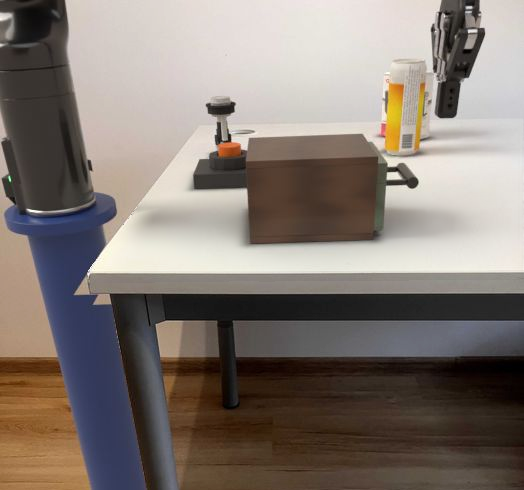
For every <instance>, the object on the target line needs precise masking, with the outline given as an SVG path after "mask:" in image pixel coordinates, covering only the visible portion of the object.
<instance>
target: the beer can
mask: <svg viewBox="0 0 524 490" xmlns="http://www.w3.org/2000/svg"><path fill="white" fill-rule="evenodd" d="M427 71H428V65H427V64H426V59H423V58H397V59H393V60H392V63H391V65H390V67H389V72H390V75H389V90H388V104H387V119H386V134H385V136H384V149H385V151H386V152H387V154H388V155H392V156H399V157H400V156H401V157H406V156H407V157H408V156H413V155H415V154H416V153H417V151H418V150H419V149H420V145H421V144H420V143H421V139H420V135H421V124H422V114H423V104H424V93H425V83H426V73H427Z"/></svg>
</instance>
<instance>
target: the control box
mask: <svg viewBox="0 0 524 490" xmlns="http://www.w3.org/2000/svg"><path fill="white" fill-rule="evenodd" d="M246 156H247V149H242V148H241V155H240V156H234V157H221V156H219V154H218V151H215V150H214V151H212V152H210V153H209V154H208V158H199V159H198V161H197V164H196V166H195V168H194V172H193V173H192V176H193V177H192V178H193V189H194V190H201V189H202V190H203V189H205V190H206V189H229V188H230V189H231V188H232V189H233V188H247V176H246Z"/></svg>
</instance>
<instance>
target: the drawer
mask: <svg viewBox="0 0 524 490" xmlns="http://www.w3.org/2000/svg"><path fill="white" fill-rule="evenodd" d="M368 142H369V144H370V145H371V147H372V148H373V150H374V151H375V153H376V154H377V155H378V171H377V187H376V203H375V219H374V231H383V230H384V224H385V223H384V222H385V209H386V208H385V206H386V196H387V195H386V194H387V187H394V186H395V187H397V186H407V188H408V189H411V190H414V189H416V188H417V187H418V186H419V183H420V181H419V179H418V177H417V176H416V175H415V174H414V172H413V171H412V170H411V169H410V167H409V166H408V165H407V164H406V163H405V162H399V163H397V165H396V166H395V165H394V166H388V165H389V164H388V161H387V160H386V159H385V157H384V156H383V155H382V153H381V152H380V150H379V149H378V148H377V146H376V145H375V144H374V142H373V141H368ZM388 173H397V175H398V176H399V177H400V178H399V179H395V178H394V179H388Z"/></svg>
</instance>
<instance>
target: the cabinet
mask: <svg viewBox="0 0 524 490" xmlns="http://www.w3.org/2000/svg"><path fill="white" fill-rule="evenodd" d="M369 142H370V141H369V140H368V139H367V138H366V137H365V135H364V133H342V134H339V133H337V134H316V135H314V134H313V135H311V134H310V135H291V136H290V135H287V136H262V137H258V136H257V137H248V141H247V149H246V150H247V156H246V176H247V187H246V195H247V213H248V215H247V216H248V232H249V233H248V234H249V245H250V244H251V245H252V244H280V243H308V242H310V243H311V242H313V243H314V242H341V241H342V242H343V241H370V240H371V241H373V240H374V236H375V235H374V232H375V230H374V219H375V203H376V187H377V171H378V155H377V154H376V153H375V151H374V150H373V148H372V147H371V145H370V144H369Z"/></svg>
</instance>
